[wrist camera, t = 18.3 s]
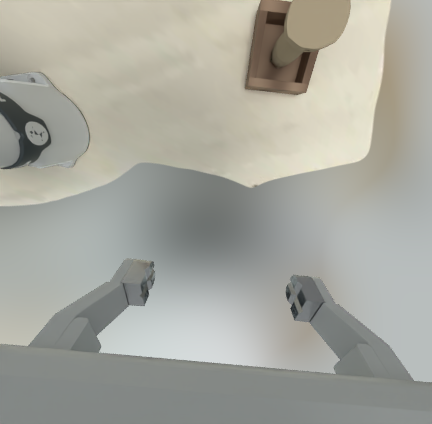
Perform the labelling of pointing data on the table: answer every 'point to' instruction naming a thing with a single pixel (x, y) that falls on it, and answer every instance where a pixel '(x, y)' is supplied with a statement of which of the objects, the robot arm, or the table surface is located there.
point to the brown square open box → (261, 54)
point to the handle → (310, 28)
